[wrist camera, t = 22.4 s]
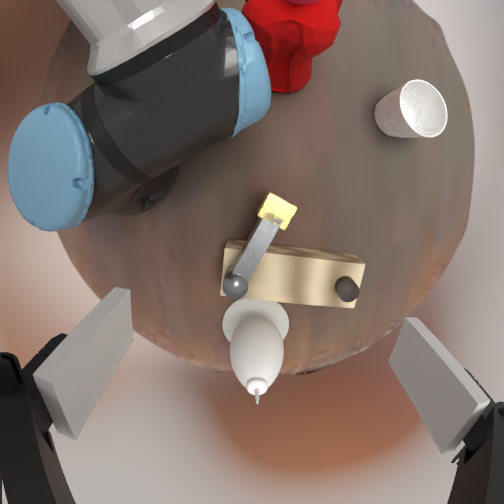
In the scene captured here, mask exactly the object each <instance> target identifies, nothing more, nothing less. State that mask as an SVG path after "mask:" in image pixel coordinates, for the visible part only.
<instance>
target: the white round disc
mask: <svg viewBox="0 0 504 504" xmlns="http://www.w3.org/2000/svg"><path fill="white" fill-rule="evenodd" d="M251 317H262V318H265V319H268V320H270V321H271V322H272V323H274V325H275V326H276V327H277V328H278V330H279V332H280V334H281V337H282V341H283V340H284V338H285V337H286V335H287V332H288V328H289V320H288V316H287V313H286V311H285V309H284V308H283V306H282V305H281V304H280V303H279V302H275V301H265V300H256V299H247V298H240V299H238V300H236V301H234V302H233V303H232V304H231V305H230V306H229V307H228V309H227V310H226V312H225V314H224V317H223V331H224V334H225V336H226V338H227V340H228V341H229V342H231V338H232V335H233V332H234V330H235V329H236V327H237V326H238V325H239V324H240V323H241V322H242V321H244V320H245V319H248V318H251Z"/></svg>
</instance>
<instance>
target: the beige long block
mask: <svg viewBox="0 0 504 504" xmlns="http://www.w3.org/2000/svg"><path fill="white" fill-rule="evenodd" d="M245 242H246V241H241V240H233V239H228V240H227V243H226V246H225V251H224V262H223V272H222V282H221V293H220V295H221V296H227V295H225V293H224V292H223V289H222V284H223V280H224V276H225V272H226V269H227V268H228V267H229V266H230V265H232V264H234V262H235V261H236V259H237V257H238V255H239V253H240V251H241V250H242V248H243V246H244V244H245ZM364 268H365V264H364V263H363V262H362V261H361V260H360V259H359V258H358V257H357V256H355V255H354V254H347V253H339V252H331V251H323V250H315V249H307V248H299V247H291V246H283V245H275V244H270V245H269V246H268V248H267V250H266V252H265V253H264V255H263V257H262V259H261V260H260V262H259V264H258V266H257V267H256V269H255V271H254V272H253V274H252V276H251V278H250V279H249V281H248V291H247V293H246V294H245V295H244V296H243V297H241V298H247V299H256V300H265V301H275V302H285V303H296V304H307V305H319V306H331V307H344V308H354V306H355V303H356V299H357V297H358V295H359V288H360V284H361V280H362V276H363V272H364Z"/></svg>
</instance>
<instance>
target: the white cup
mask: <svg viewBox="0 0 504 504" xmlns="http://www.w3.org/2000/svg"><path fill="white" fill-rule="evenodd" d="M374 115H375V121H376V123H377V125H378V126H379V128H380V130H381V131H383V132H384V133H385V134H387V135H388V136H392V137H396V138H397V137H403V138H420V137H435V136H437V135H439V134H440V133H441V132H442V131H443V130H444V128H445V126H446V123H447V108H446V105H445V102H444V100H443V98H442V96H441V94H440V93H439V92H438V90H437V89H436V88H435V87H433V86H432V85H431V84H429V83H428V82H425V81H423V80H412V81H409V82H407V83H406V84H404V85H402V86H401V87H399V88H397V89H395V90H394V91H392V92H391V93H389V94H388V95H386V96H385V97H383V98H382V99H381V100H380V101H379V102H378V103H377V104H376V107H375V111H374Z"/></svg>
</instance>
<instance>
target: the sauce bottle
mask: <svg viewBox="0 0 504 504" xmlns="http://www.w3.org/2000/svg"><path fill="white" fill-rule="evenodd" d="M283 354H284V350H283V341H282V337H281V334H280V332H279V330H278V328H277V327H276V326H275V325H274V323H272V322H271V321H270V320H268V319H265V318H262V317H251V318H248V319H245V320H244V321H242V322H241V323H240V324H239V325H238V326H237V327H236V329H235V330H234V332H233V335H232V338H231V342H230V359H231V364H232V367H233V370H234V372H235V374H236V376H237V378H238V379H239V381H240V382H241V383H242V385H243V386H245V387H246V388H247V391H248V392H249V393H250V394H253V395H255V397H256V403H257V404H258V402H259V395H261V394H263V393H265V392H266V390H267V388H268V387H269V386H270V385H271V384H272V383H273V382H274V380H275V379H276V377H277V376H278V373H279V371H280V369H281V366H282V361H283Z"/></svg>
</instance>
